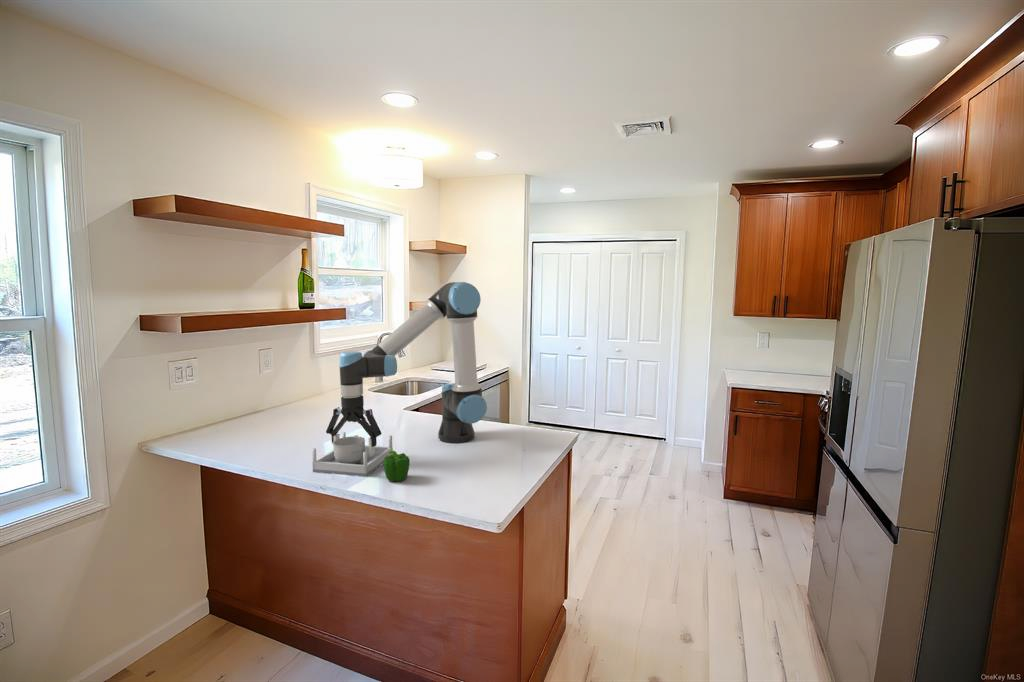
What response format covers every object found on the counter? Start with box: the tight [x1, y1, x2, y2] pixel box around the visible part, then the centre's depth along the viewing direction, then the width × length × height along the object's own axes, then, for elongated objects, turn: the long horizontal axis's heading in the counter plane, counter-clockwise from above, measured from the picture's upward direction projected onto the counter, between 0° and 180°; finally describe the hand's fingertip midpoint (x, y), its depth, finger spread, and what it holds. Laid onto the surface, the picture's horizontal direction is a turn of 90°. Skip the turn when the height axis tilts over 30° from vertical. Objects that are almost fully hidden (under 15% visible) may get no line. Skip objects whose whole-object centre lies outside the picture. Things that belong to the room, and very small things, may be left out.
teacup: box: [332, 434, 366, 464], centre depth 177 cm, size 14×11×8 cm
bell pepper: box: [383, 450, 411, 482], centre depth 163 cm, size 8×8×10 cm
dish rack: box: [311, 431, 394, 477], centre depth 177 cm, size 20×20×8 cm
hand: (354, 453), depth 177 cm, fingers open, 13 cm apart
